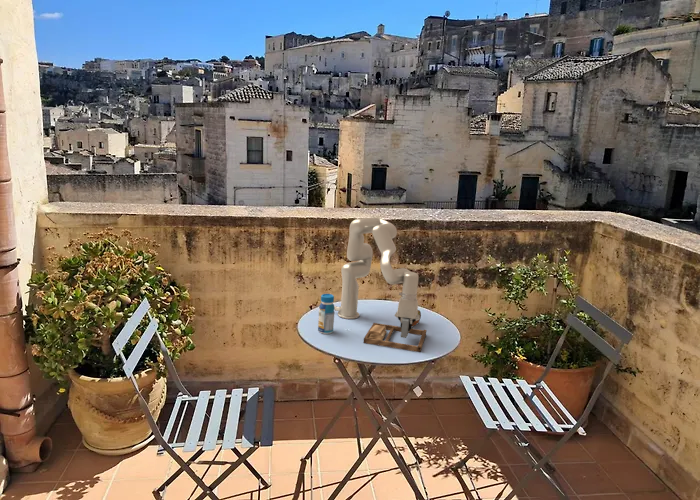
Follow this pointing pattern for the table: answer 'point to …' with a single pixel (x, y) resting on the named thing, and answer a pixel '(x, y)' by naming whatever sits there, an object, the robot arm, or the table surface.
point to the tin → (417, 320)
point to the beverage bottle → (326, 314)
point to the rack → (393, 344)
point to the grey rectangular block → (405, 327)
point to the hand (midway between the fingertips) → (405, 329)
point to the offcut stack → (378, 332)
